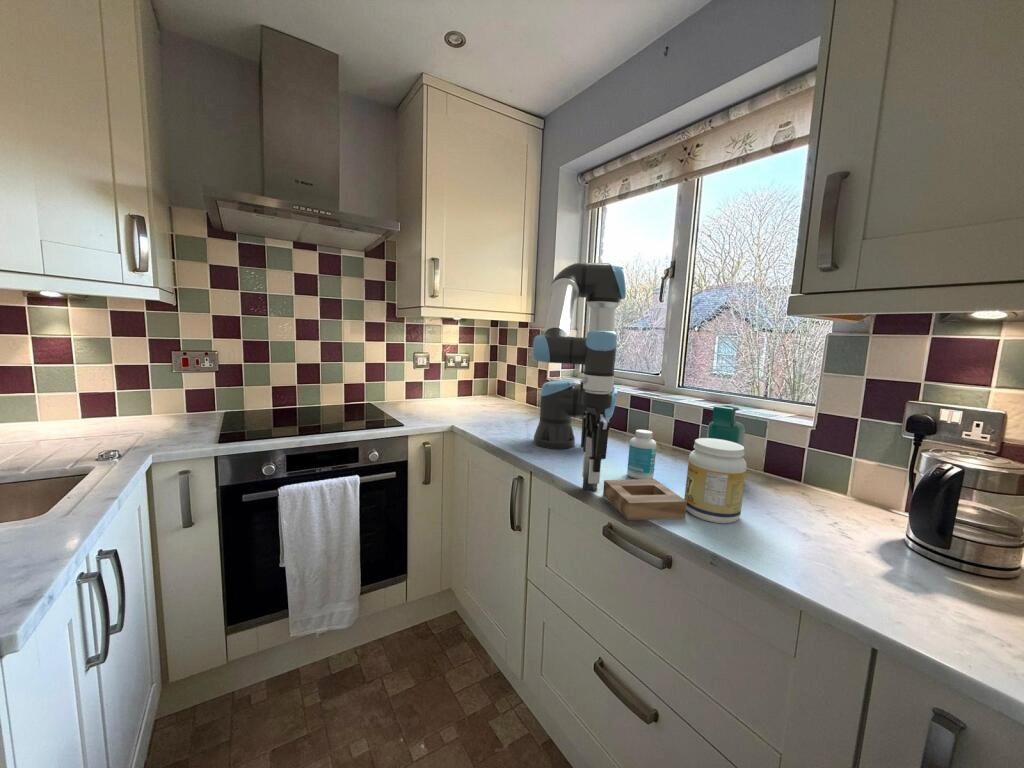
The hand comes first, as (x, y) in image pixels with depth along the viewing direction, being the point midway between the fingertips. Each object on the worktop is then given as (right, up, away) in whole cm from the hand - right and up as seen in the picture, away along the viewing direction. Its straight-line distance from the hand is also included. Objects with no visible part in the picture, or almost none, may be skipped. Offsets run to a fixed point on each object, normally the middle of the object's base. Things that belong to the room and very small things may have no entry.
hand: (590, 479), depth 108 cm
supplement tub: (+26, -6, -11) cm, 29 cm away
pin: (0, -3, 0) cm, 3 cm away
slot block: (+11, -4, -9) cm, 14 cm away
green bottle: (+41, -3, +14) cm, 44 cm away
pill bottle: (+17, -2, +13) cm, 21 cm away
